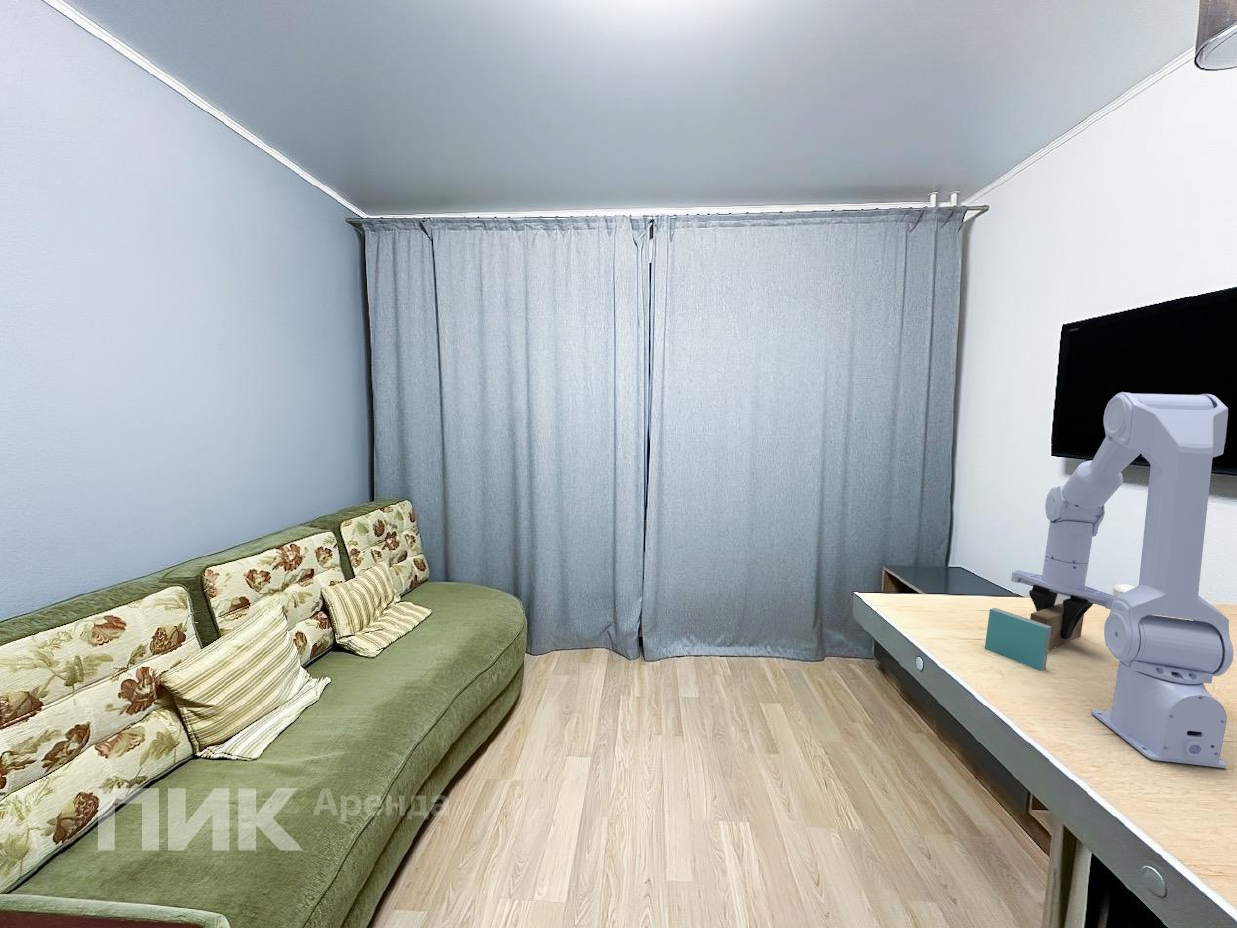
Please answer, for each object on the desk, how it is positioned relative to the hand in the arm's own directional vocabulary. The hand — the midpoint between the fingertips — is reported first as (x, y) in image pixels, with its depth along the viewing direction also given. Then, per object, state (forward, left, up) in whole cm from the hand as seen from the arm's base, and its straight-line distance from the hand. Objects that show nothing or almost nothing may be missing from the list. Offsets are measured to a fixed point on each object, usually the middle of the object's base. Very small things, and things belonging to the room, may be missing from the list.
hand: (1055, 633), depth 91 cm
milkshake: (+7, -16, -2) cm, 17 cm away
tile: (-8, +11, -2) cm, 14 cm away
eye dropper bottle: (+13, -8, -2) cm, 15 cm away
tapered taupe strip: (0, 0, -2) cm, 2 cm away
